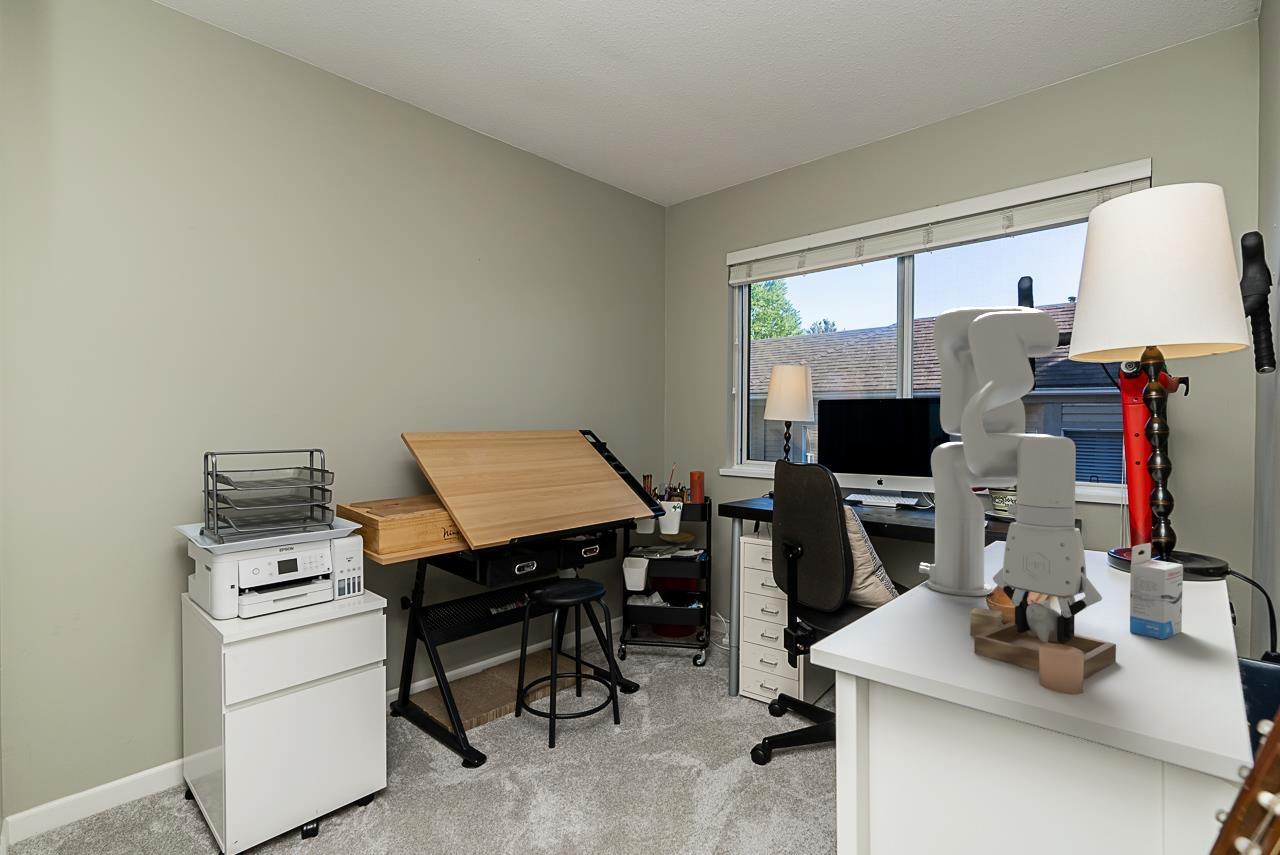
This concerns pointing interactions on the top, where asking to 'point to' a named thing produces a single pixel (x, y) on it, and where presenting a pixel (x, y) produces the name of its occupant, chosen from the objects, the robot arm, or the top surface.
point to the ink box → (1155, 595)
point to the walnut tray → (1025, 648)
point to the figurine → (1042, 621)
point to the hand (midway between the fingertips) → (1043, 634)
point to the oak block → (984, 620)
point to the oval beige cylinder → (1061, 668)
